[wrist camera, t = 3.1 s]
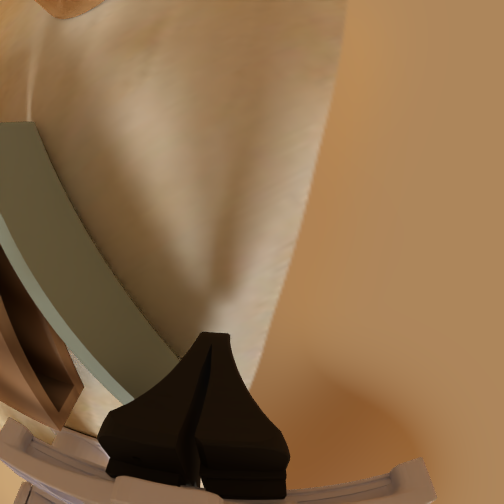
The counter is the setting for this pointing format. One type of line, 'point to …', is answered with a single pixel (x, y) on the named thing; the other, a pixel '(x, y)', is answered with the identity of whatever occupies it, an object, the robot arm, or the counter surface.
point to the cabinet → (32, 357)
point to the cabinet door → (72, 272)
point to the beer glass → (67, 7)
